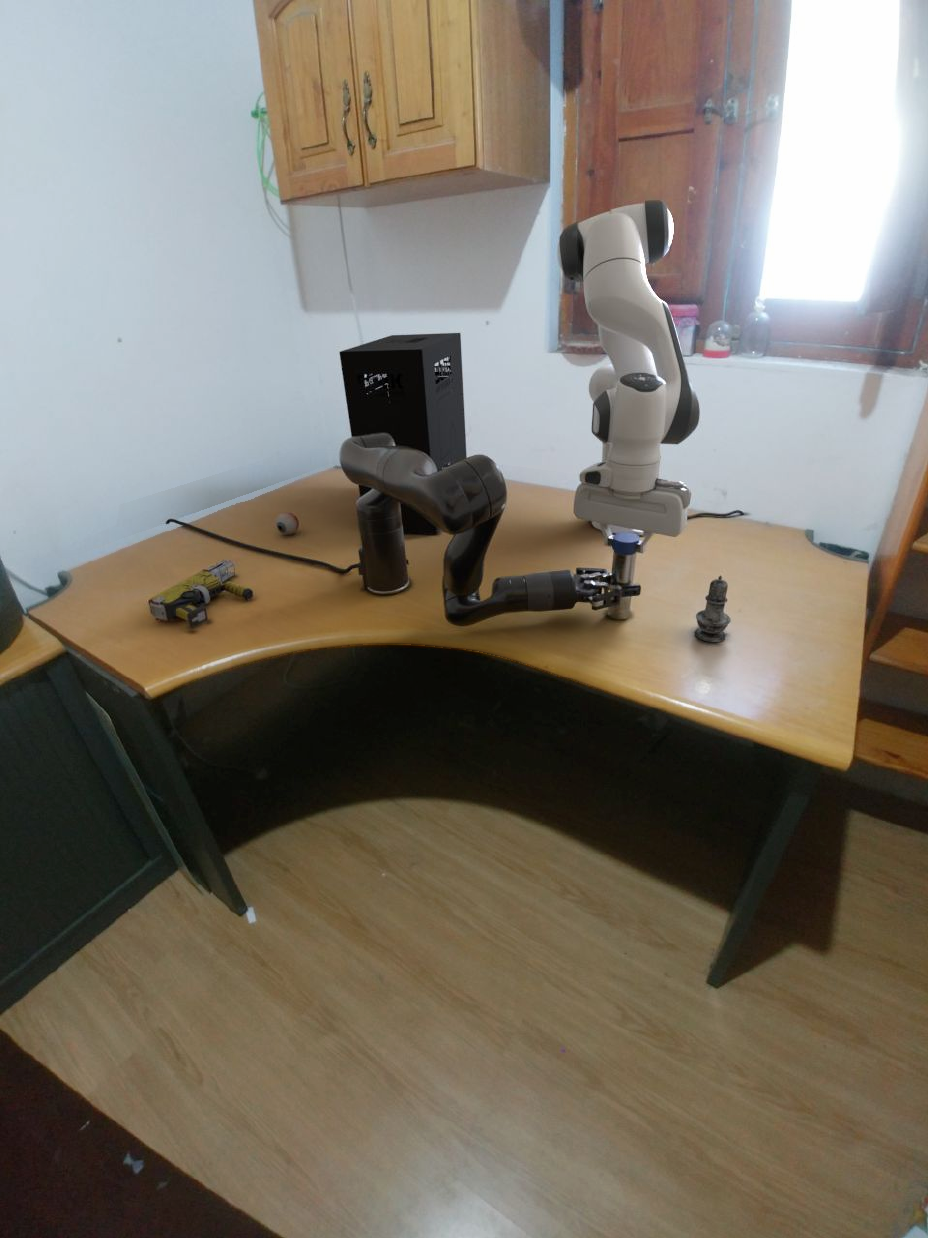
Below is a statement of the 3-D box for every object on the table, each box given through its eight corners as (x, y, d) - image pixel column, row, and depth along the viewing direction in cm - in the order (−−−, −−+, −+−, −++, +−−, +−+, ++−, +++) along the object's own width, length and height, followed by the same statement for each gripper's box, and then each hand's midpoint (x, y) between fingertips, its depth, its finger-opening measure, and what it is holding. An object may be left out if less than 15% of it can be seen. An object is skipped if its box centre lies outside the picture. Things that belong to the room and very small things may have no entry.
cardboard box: (436, 534, 159) (422, 349, 137) (364, 531, 164) (339, 351, 141) (468, 489, 191) (460, 332, 168) (407, 487, 195) (391, 335, 173)
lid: (607, 550, 111) (608, 539, 110) (617, 541, 114) (618, 530, 113) (633, 556, 109) (634, 544, 108) (642, 546, 112) (644, 535, 111)
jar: (604, 610, 120) (611, 537, 112) (624, 608, 121) (632, 535, 113) (612, 620, 117) (619, 545, 109) (632, 618, 117) (641, 543, 109)
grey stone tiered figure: (729, 644, 107) (742, 583, 101) (695, 641, 108) (705, 582, 102) (724, 627, 112) (735, 568, 106) (691, 625, 113) (700, 567, 107)
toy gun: (275, 568, 138) (221, 556, 142) (203, 614, 118) (142, 599, 122) (277, 586, 140) (223, 575, 144) (207, 635, 120) (146, 620, 124)
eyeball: (273, 537, 164) (268, 516, 161) (287, 528, 169) (282, 508, 166) (291, 539, 161) (286, 518, 158) (305, 530, 166) (301, 510, 163)
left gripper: (556, 590, 107) (651, 582, 107) (540, 557, 119) (625, 550, 120) (555, 627, 110) (646, 619, 111) (540, 591, 123) (622, 584, 124)
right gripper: (698, 478, 101) (686, 553, 108) (586, 463, 112) (582, 532, 119) (686, 489, 97) (675, 567, 104) (571, 471, 108) (567, 543, 115)
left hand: (635, 583), depth 116 cm, fingers closed on jar, 4 cm apart
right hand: (624, 548), depth 112 cm, fingers closed on lid, 4 cm apart
